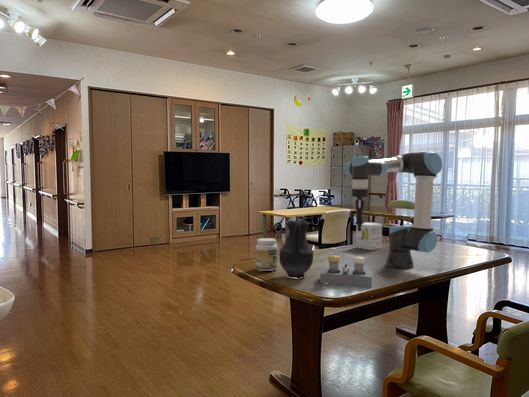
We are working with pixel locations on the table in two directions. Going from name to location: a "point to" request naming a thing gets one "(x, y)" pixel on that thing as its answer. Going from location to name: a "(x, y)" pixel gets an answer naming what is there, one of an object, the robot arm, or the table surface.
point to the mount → (346, 278)
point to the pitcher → (296, 250)
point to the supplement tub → (266, 254)
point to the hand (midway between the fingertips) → (359, 237)
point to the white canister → (370, 236)
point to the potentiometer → (345, 269)
